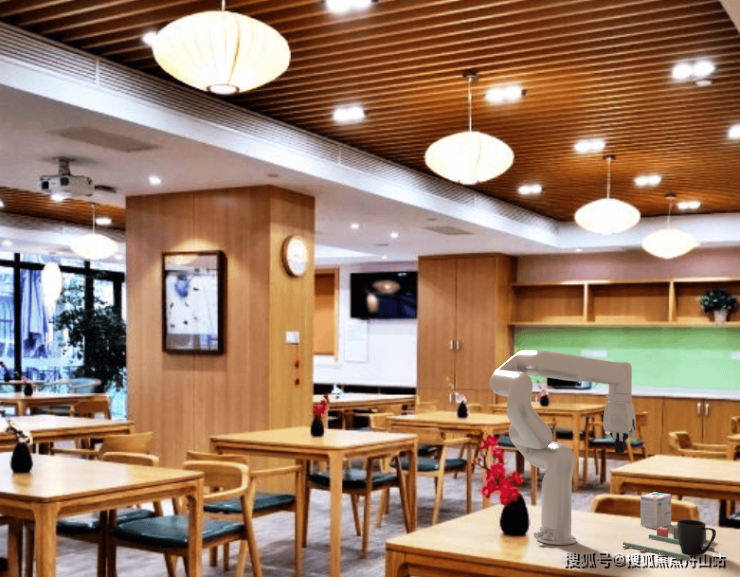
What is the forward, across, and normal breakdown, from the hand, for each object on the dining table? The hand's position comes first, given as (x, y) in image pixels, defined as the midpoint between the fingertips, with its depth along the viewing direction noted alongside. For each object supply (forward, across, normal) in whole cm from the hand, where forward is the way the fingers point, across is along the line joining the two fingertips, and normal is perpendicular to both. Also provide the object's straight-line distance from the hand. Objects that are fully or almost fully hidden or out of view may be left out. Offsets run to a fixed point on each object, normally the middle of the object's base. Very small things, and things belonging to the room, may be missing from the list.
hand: (619, 452), depth 303 cm
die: (+27, +12, +6) cm, 30 cm away
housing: (+27, +20, +10) cm, 35 cm away
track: (+27, +21, -7) cm, 35 cm away
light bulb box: (+27, +2, +21) cm, 34 cm away
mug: (+27, +30, -6) cm, 41 cm away
